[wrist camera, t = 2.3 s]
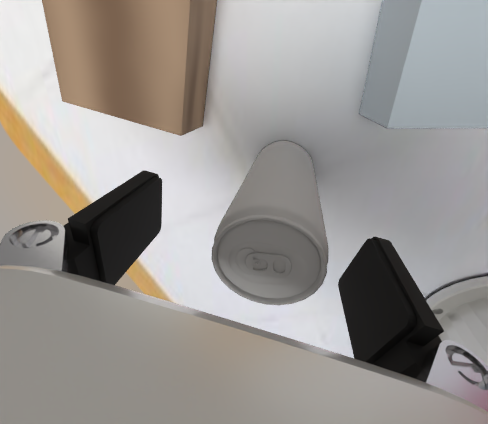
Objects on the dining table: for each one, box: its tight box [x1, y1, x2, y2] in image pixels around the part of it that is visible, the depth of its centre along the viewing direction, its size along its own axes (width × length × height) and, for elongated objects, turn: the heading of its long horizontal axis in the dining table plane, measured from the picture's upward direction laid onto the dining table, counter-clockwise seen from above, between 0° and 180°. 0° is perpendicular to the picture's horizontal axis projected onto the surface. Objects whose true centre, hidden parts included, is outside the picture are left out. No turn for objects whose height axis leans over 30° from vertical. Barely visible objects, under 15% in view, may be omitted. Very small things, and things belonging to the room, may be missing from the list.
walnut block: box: [42, 0, 217, 136], centre depth 15 cm, size 9×9×4 cm
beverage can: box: [212, 141, 328, 305], centre depth 14 cm, size 5×5×12 cm
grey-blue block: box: [359, 0, 488, 128], centre depth 11 cm, size 6×6×6 cm
